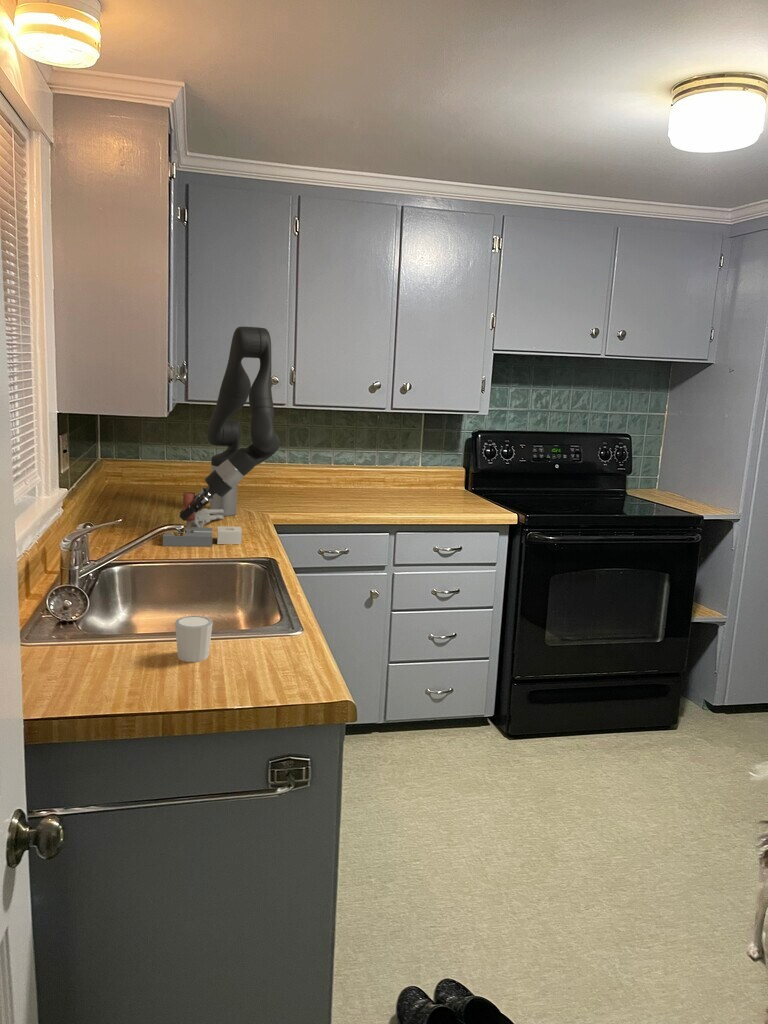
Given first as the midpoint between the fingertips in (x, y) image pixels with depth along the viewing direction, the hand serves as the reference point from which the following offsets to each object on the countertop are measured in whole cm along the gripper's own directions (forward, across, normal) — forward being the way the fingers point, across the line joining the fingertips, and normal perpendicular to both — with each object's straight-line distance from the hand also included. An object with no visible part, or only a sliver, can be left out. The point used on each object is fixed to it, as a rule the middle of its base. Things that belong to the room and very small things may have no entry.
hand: (181, 516), depth 228 cm
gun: (0, -19, +11) cm, 22 cm away
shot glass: (+2, +89, +9) cm, 89 cm away
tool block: (-5, 0, +15) cm, 16 cm away
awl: (+3, 0, +6) cm, 6 cm away
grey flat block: (+4, 0, +7) cm, 8 cm away
